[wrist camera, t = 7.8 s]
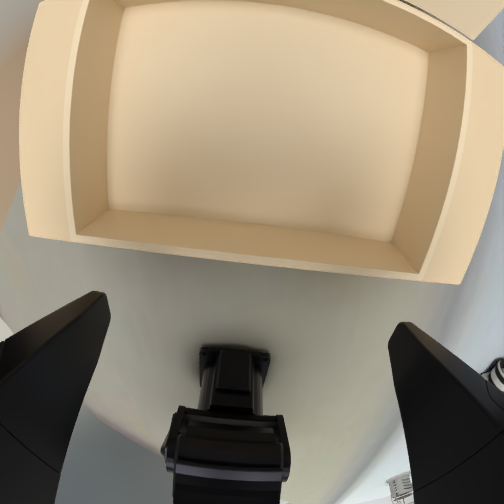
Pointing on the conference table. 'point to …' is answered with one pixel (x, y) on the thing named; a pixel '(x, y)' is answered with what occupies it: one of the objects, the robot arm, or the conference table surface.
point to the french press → (400, 486)
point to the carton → (262, 133)
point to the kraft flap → (463, 13)
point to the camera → (496, 376)
